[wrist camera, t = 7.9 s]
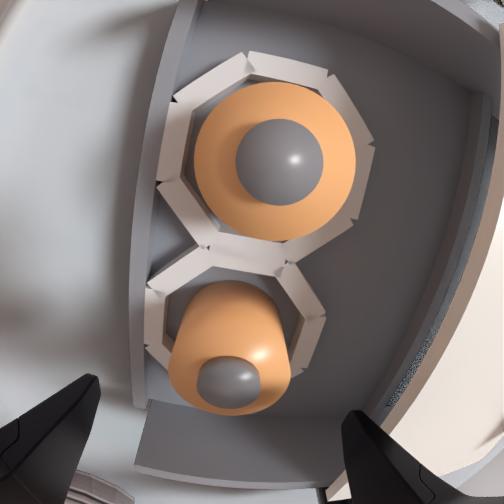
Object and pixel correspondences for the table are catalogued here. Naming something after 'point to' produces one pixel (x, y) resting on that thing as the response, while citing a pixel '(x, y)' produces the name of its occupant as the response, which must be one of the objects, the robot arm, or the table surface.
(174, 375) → the orange grey rounded piece
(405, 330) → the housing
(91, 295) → the table surface
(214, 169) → the orange grey domed knob
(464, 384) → the lid
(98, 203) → the table surface
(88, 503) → the can
